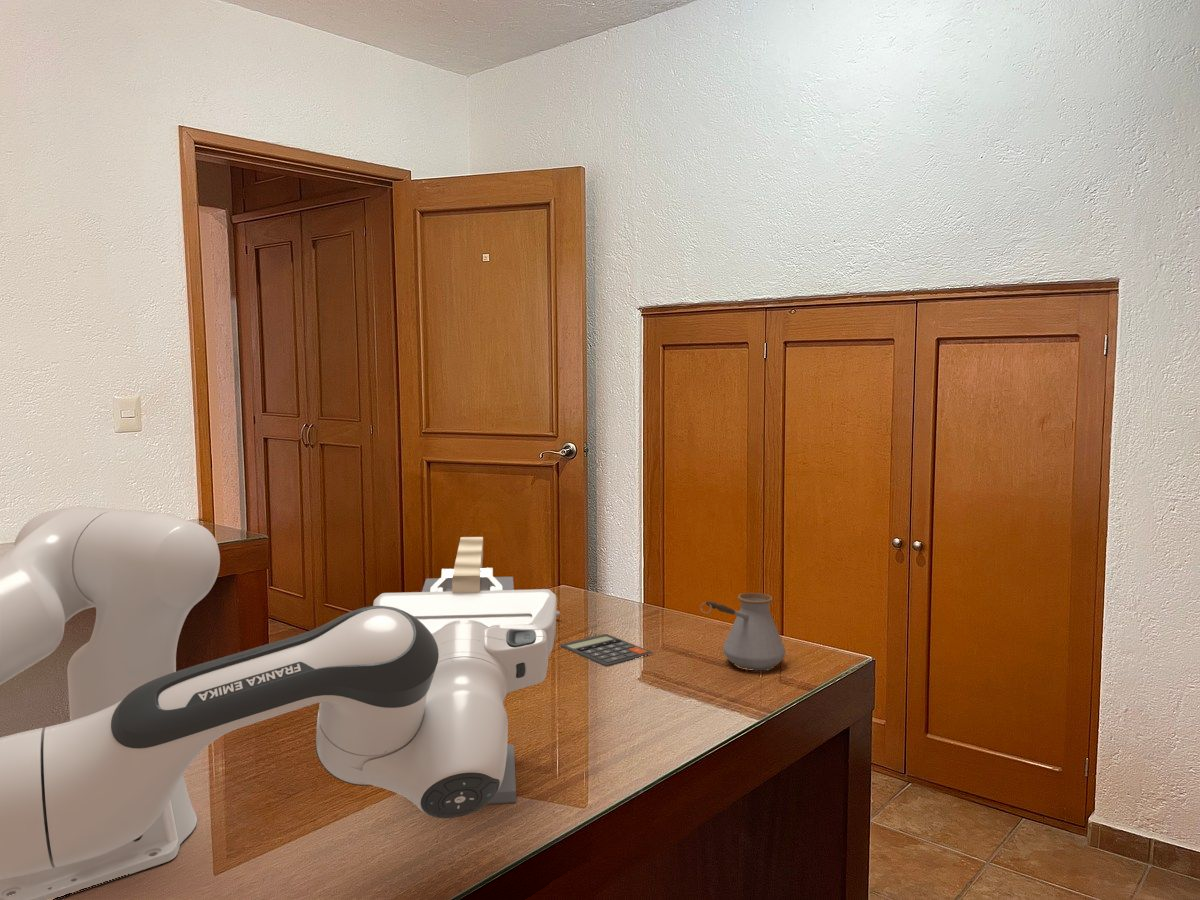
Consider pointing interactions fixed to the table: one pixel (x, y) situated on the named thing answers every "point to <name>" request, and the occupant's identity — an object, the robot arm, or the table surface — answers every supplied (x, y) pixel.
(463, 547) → the maple bar
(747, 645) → the coffee pot
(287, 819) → the table surface
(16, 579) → the robot arm
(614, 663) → the calculator
